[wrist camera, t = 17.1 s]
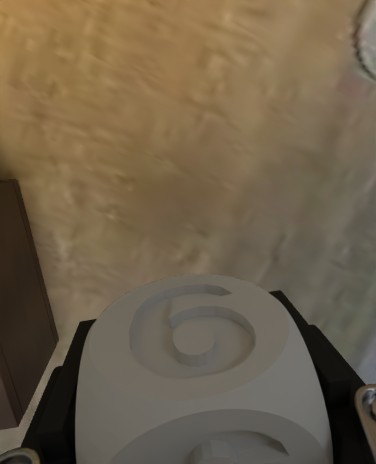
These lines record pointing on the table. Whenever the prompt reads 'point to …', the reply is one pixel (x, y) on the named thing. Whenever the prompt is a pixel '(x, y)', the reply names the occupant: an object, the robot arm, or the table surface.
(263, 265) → the table surface
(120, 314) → the die
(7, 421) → the cabinet
